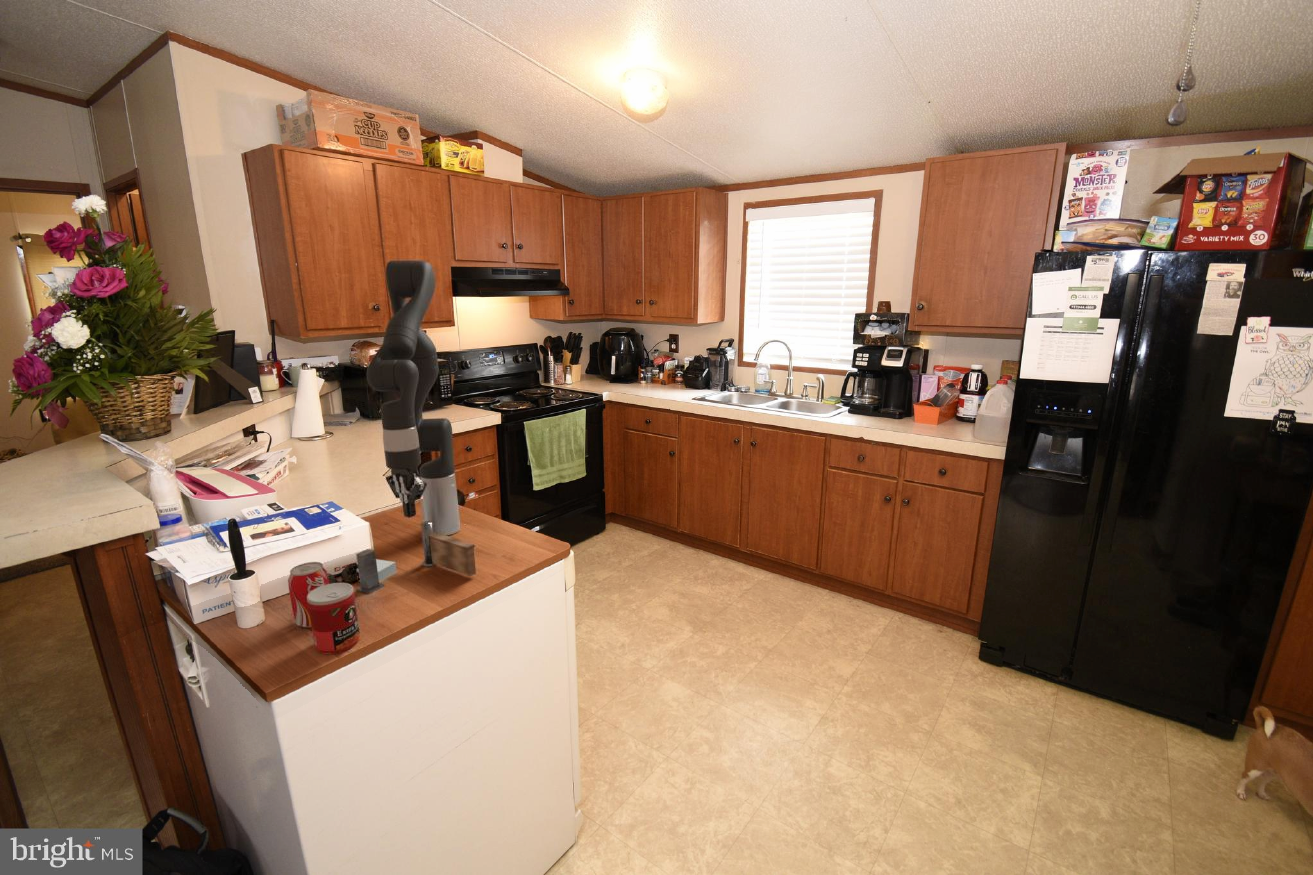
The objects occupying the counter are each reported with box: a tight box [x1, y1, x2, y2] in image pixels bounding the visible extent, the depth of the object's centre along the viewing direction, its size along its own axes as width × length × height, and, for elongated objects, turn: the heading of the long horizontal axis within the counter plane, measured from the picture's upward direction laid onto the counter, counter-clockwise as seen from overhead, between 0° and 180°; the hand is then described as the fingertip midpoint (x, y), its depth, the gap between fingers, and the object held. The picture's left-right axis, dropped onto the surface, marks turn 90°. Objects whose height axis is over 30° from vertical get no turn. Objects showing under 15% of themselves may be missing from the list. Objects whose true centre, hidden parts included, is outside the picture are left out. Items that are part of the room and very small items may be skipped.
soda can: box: [287, 561, 330, 628], centre depth 116 cm, size 7×7×12 cm
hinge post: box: [420, 521, 438, 568], centre depth 142 cm, size 4×4×11 cm
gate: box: [428, 533, 477, 577], centre depth 138 cm, size 14×2×7 cm, turn 58°
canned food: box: [307, 582, 361, 655], centre depth 109 cm, size 8×8×11 cm
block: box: [356, 558, 397, 583], centre depth 137 cm, size 6×6×3 cm
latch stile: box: [355, 548, 385, 595], centre depth 130 cm, size 4×4×9 cm
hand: (410, 516), depth 135 cm, fingers closed
